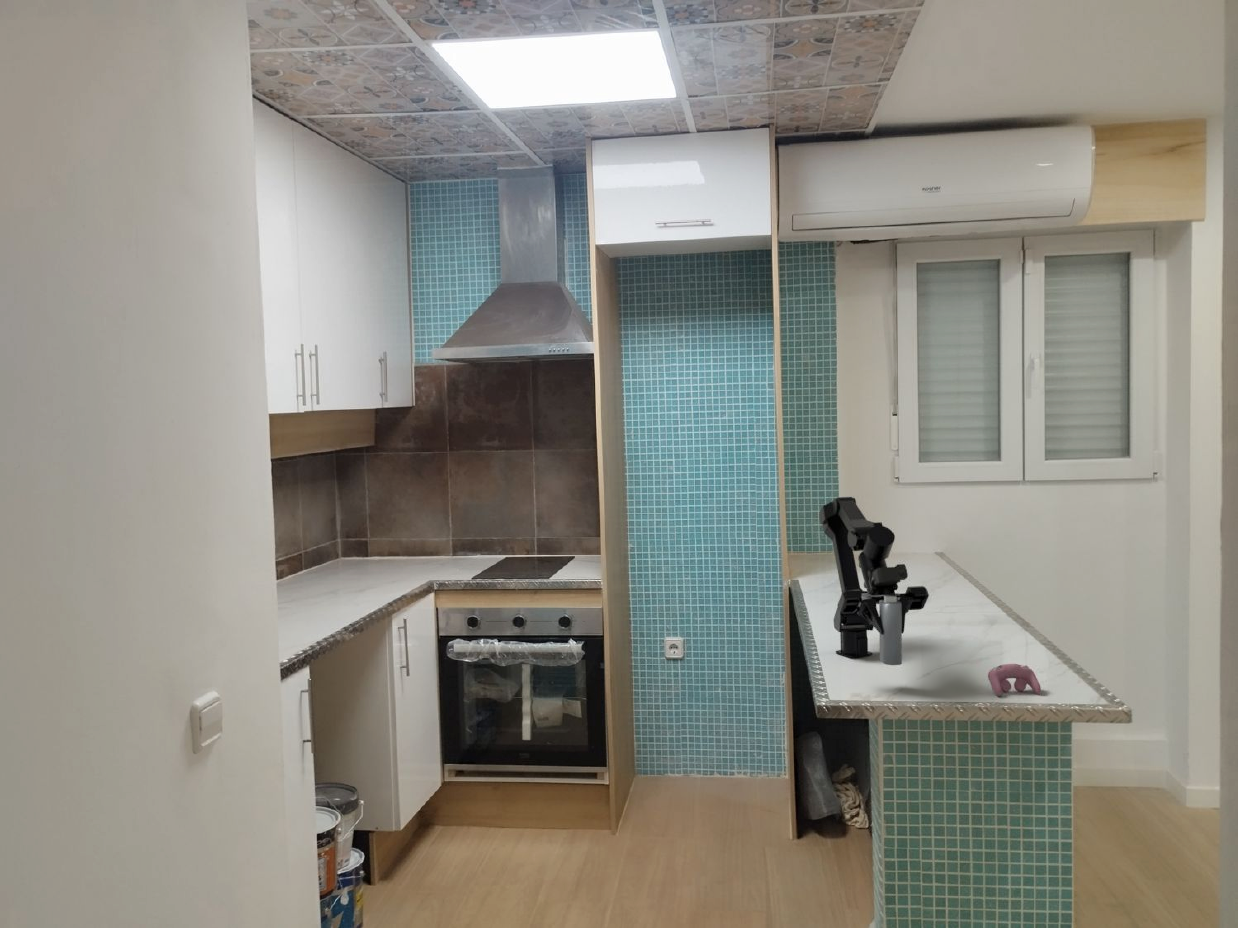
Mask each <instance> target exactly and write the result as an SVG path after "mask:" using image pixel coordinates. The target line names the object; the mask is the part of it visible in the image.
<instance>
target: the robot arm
mask: <svg viewBox="0 0 1238 928" xmlns="http://www.w3.org/2000/svg"><path fill="white" fill-rule="evenodd" d="M818 514H819V515H818V516H819V518H818V519H819V523H820V525H821V526H822V529H823V533H824V534H825V535H826V536H827V538H829V539H830V540H831V542H832V547H833V552H834V558H835V563H836V569H837V575H838V579H839V586H840V590H841V591H840V592H841V596H840V598H839V600H838V602H837V604H836V606H837V607H836V611H835V613H834V616H833V627H834V629H835V630H836V631H837V632H839V633H840V649H838V650H836V651H835V654H837V655H841V656H844V657H847V658H850V659H858V658H861V657H866V656H871V655H873V652H872V651H869V645H868V644H869V642H868V641H869V639H868V631H873V630H874V629H875V630H876V631H877V632H878V633H879V635H880V634H881V635H883V633H884V630H883V625H882V623H881V620H880V615H879V611H878V609H877V605H879V601H880V600H883V599H884V596H896V597H897V601H899V602H901V603H902V634H904V631H905V625H906V624H905V623H906V614H908V613H909V611H920V610H922V609H924V608H925V605H926V603H927V601H928V599H929V596H930V595H929V592H928V589H927V588H926V587H925V586H923V585H920V586H919V585H918V586H907V588H906V590H905V593H898V592H897V593H896V592H895V591H897V590H898V588H899V585H898V583H900V582H901V581H905V580H906V579H908V576H909V574H908V570H907V566H906V565H905V563H902V564H901V563H899V564H896V565H895V566H888V565H887V561H886V559H888V558H889V556H890V553H891V551H892V548H893V545H894V542H895V539H896V536H895V533H894V532H893V531H892V530H891V529H890V528H888V527H887V526H884V525H883V523H882V522H880V521H879V522H874V521H871V520H867V518H866V517H865V515H864V513H863V512H862V511H861V509H860V508H859V506H858V505H857V500H856V498H855V497H853V496H842V497H841V496H839V497H836V498H835V497H834V498H833V500H832V501H830V502H829V503H826V504H824V505H823V506H822V507H821V509H820V510H819V513H818ZM854 552H860V553H859V555H858V557H857V559H858V568H859V569H860V570H861V571H860V572H861V574H862V578H863V581H864V582H863V587H864V589H866V590H863V589H862V588H861V585H860V580H859V575H858V569H857V565H856V560H855V554H854Z"/></svg>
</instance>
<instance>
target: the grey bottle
mask: <svg viewBox="0 0 1238 928" xmlns="http://www.w3.org/2000/svg"><path fill="white" fill-rule="evenodd" d="M878 605H879V611H878V614H879V617H880V620H881V623H882V625H883V630H884V633H883V635H881V634H880V633H879V661H880V662H881V663H883V664H884V665H886V666H887V665H888V666H898V665H902V664H903V654H902V653H903V646H902V645H903V642H902V641H903V637H902V635H903V633H902V603H901V602H899V601H897V597H896V596H884V599H883V600H880V601H879V604H878Z"/></svg>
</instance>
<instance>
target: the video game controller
mask: <svg viewBox="0 0 1238 928" xmlns="http://www.w3.org/2000/svg"><path fill="white" fill-rule="evenodd" d="M987 678H988V681H989V684H990V686H991V689H992V692H993V693H994V694H995V695H996V696H997V697H998V698H999V697H1002V693H1007V692H1009V691H1011V689H1012V684H1011V682H1010V681H1009V679H1015V680H1014V683H1013V687H1014V689H1015V691H1017V692H1024V691H1025V690H1026V688H1027V685H1028V686H1029V687H1030V688H1031V689H1032V691H1033V692H1034V693H1035V695H1037V696H1039V695H1040V694H1041V692H1042V689H1041V688H1042V687H1041V684H1040V682H1039V680H1038V678H1037V676H1036V673H1035V672H1034V670H1032V668H1030V667H1029V666H1028V665H1024V664H1023V665H1022V664H1017V663H1005V664H1004V663H1003V664H1001V665H998V666H995V667H993V668H992V669H990V670H989V671H988V672H987Z"/></svg>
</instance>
